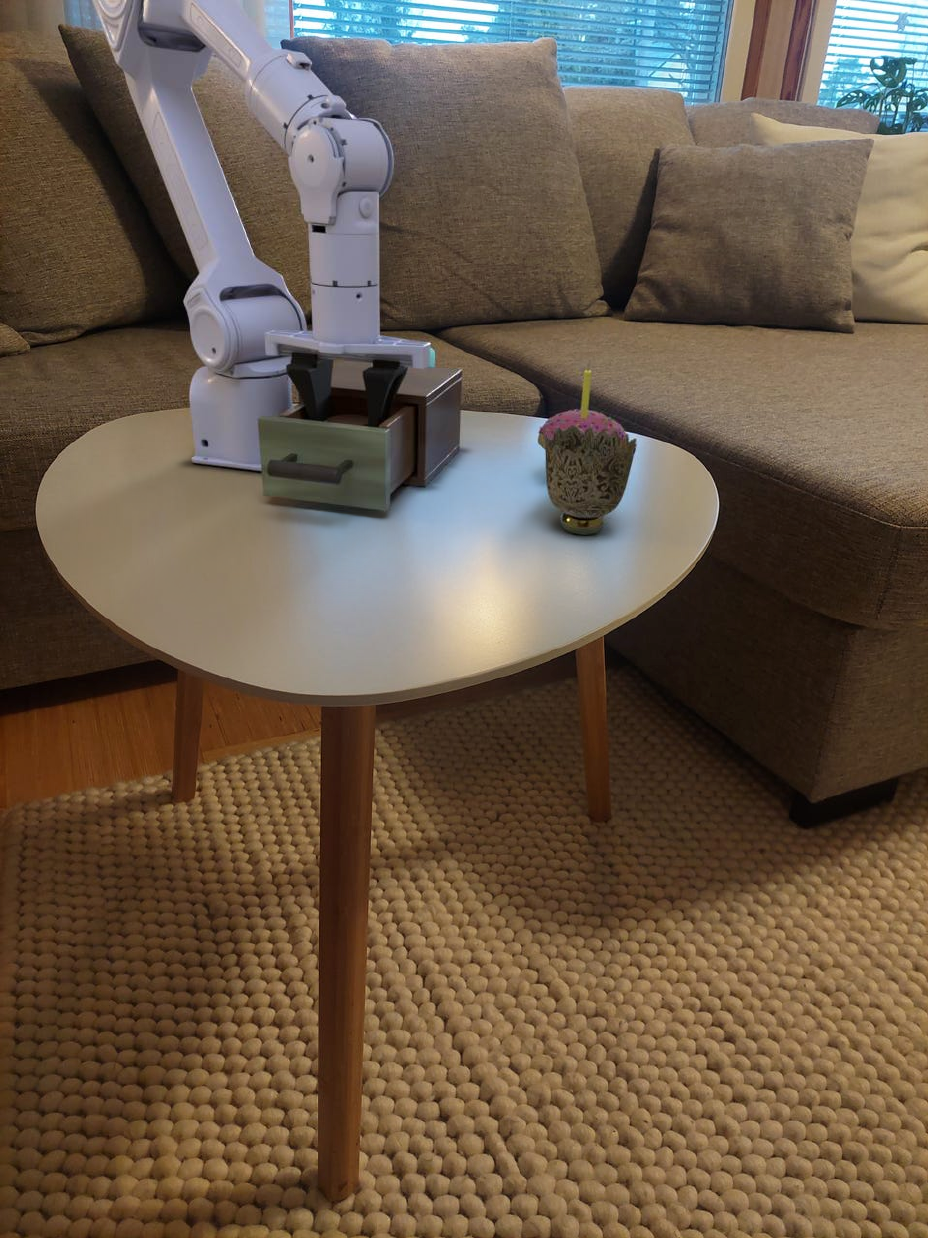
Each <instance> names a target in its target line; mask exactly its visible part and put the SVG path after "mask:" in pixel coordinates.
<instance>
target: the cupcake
mask: <svg viewBox="0 0 928 1238" xmlns="http://www.w3.org/2000/svg"><path fill="white" fill-rule="evenodd" d="M590 365H591V363H590V361H589V362H587V365H586V369H585V370H584V371H583V372H584V373H583V381H582V393H581V402H580V403H581V405H580V408H576V409H574V410H573V409H570V410H568V411H566V410H565V411H564V412H560V413H556V414H555V415H554V416H552V417H549V418H548V419H547V420H546V422H545V423H544V424H543V425H542V426H539V431H538V432H537V433H538V437H537V444H538V445H539V446H540V447H542V449H543V450H545V435H546V434H547V436H548V437H549V440H550V439H551V440H553V437H554V430H555V429H556V428H560V429H561V430H562V432H563V431H564V430H566V429H567V428H568V427H570V426H572V425H573V426H575V427H576V428H577V429H578V430H580V433H581V434H582V433H585V431H586V430H587V429H588V428H590V427H592V428H593V435H594V438H596V436H597V435H598V433H599V432H600V431H602V430H603V429H605V428H606V429H607V431H608V433H609V434H610V435H611V434H612V432H613V431H616V432H617V433H618V436H619V438H620V443H621V441H622V439H623V438H625V436H626V435H627V434H628V433H627V432H626V428H625V427H623V425H622V424H621V423H619V420H616V419H614V418H612V417H611V416H607V415H606V414H604V413H603V412H601V411H599V412H598V411H597V410H592V409H589V404H590V391H591V383H592V370H591V369H590V367H591V366H590ZM583 435H584V434H583Z"/></svg>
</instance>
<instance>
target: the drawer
mask: <svg viewBox="0 0 928 1238" xmlns="http://www.w3.org/2000/svg"><path fill="white" fill-rule="evenodd" d="M330 402H331V417H332V416H336V415H344V414H354V415H362V416H366V417H368V405H367V399H362V398H352V397H342V396H333V395H331V396H330ZM418 405H419V404H411V403H401V402H393V405H392V408H391V411H390V414H389V418H388V419H387V420H386V421H384V422H383V423H382V424H380V425H379V428H376V427H367V426H358V425H349V424H340V423H330V422H321V421H312V420H310V419H309V416H308V413H307V410H306V407H305V405H304V403H303V402H301V403H299V402H298V404H295V405H294V406H293V407H292V408H290V409H288V410H287V411H285V412H283V413H281V414H279V417H275V416H266V415H263V416H262V417H260V418H258V431H259V444H260V457H261V471H260V472H261V483H262V495H263V496H268V497H277V498H284V499H293V500H299V501H308V502H316V503H323V504H331V505H339V506H346V507H353V508H360V509H361V508H362V509H368V510H376V511H384V512H386V511H387V510H388V509H389V508H390V507H391V494H393V493H394V492H395V491H396V490H397V489H398V487H400V486H401V485H402V484H401V483H402V482H403V481H405V480H406V479H407V478H408V477H409V476H410V475H411V474H412V473H413V472H414V471H415V470H416V469H417V468H418Z"/></svg>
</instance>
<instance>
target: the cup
mask: <svg viewBox="0 0 928 1238" xmlns="http://www.w3.org/2000/svg"><path fill="white" fill-rule="evenodd" d="M583 434H584V435H583ZM626 434H627V435H626V436H625V438H623V439H622V441H621V443H620V438H619V436H618V433H617V432H616V431H613V432H612V434H611V435H610V434H609V433H608V431H607V429H606V428H605V429H603V430H602V431H600V432H599V433H598V435H597V436H596V438H594V435H593V428H592V427H590V428H588V429H587V430H586V431H585V433H582V434H581V433H580V430H578V429H577V428H576V427H575V426H573V425H572V426H570V427H568V428H567V429H566V430H564V431H563V432H562V430H561V429H560V428H556V429H555V430H554V437H553V440H551V439H550V440H549V437H548V436H547V434H546V435H545V449H544V453H545V479H546V487H547V494H548V496H549V500H550V501H551V503H552V505H553V506H554V507H555V508H556V510H558V511H560V512H561V515H560V518H559V521H560V523H561V526H562V528H563V529H564V530H566V531H567V532H569V533H571V534H576V535H581V536H582V535H583V536H586V535H587V536H588V535H593V534H596V533H598V532H600V531H601V529H602V528H603V526H604V524H605V519H604V516H607V515H609V514H610V513H612V512H613V511H615V510H616V508H617V507H618V506H619V505H620V503H621V502H622V499H623V497H624V495H625V491H626V488H627V485H628V482H629V477H630V474H631V470H632V466H633V461H634V457H635V454H636V450H637V445H638V443H637V438H633V439H630V438H629V437H630V436H629V434H628V433H626Z"/></svg>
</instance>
